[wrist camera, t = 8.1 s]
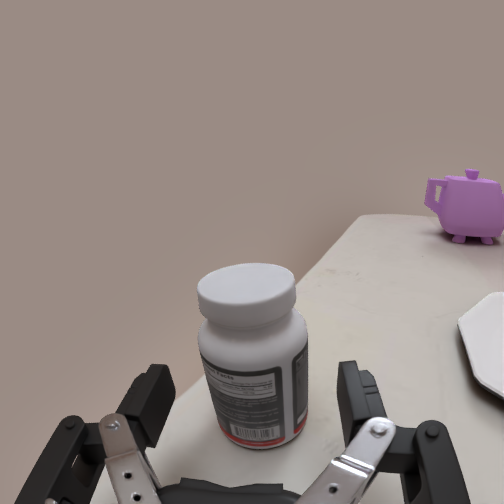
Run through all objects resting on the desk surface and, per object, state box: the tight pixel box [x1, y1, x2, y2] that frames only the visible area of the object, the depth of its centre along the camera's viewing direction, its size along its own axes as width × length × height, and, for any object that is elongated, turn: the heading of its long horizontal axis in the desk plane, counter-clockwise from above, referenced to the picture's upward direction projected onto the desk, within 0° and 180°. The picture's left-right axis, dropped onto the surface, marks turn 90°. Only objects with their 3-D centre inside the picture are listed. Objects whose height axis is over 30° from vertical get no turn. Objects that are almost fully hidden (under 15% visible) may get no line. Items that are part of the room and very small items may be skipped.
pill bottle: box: [197, 263, 308, 449], centre depth 16 cm, size 6×6×10 cm
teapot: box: [424, 169, 504, 245], centre depth 45 cm, size 20×12×13 cm, turn 67°
